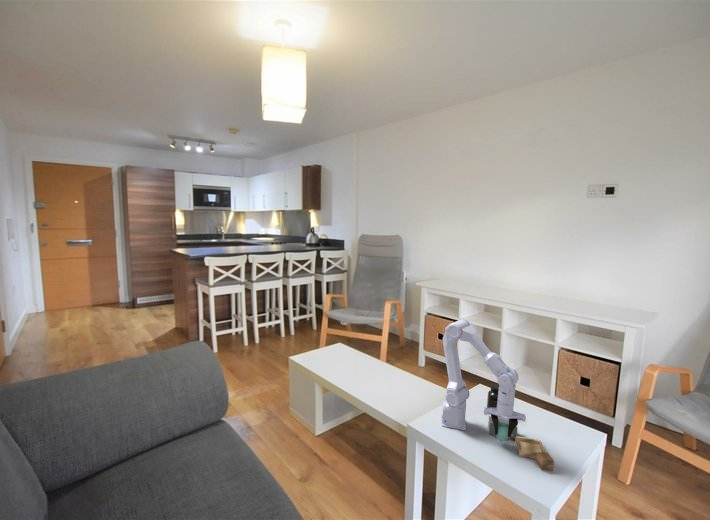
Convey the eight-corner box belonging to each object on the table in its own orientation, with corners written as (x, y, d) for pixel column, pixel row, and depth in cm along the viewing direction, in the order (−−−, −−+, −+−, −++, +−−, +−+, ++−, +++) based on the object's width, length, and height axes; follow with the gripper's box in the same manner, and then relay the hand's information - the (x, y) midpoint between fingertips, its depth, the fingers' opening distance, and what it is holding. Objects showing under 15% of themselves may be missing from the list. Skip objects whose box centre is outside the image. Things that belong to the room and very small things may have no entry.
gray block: (489, 434, 142) (490, 423, 142) (488, 427, 147) (489, 416, 146) (517, 439, 140) (518, 427, 139) (514, 431, 144) (515, 420, 144)
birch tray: (519, 455, 130) (519, 450, 130) (515, 440, 139) (515, 435, 139) (546, 460, 128) (546, 455, 128) (540, 445, 137) (540, 440, 136)
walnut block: (541, 470, 123) (542, 459, 123) (535, 462, 127) (536, 452, 127) (552, 470, 123) (553, 460, 123) (546, 462, 127) (547, 452, 127)
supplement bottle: (485, 406, 163) (487, 382, 161) (500, 408, 162) (502, 383, 160) (488, 415, 156) (490, 389, 155) (504, 416, 155) (507, 391, 154)
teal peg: (496, 440, 134) (498, 426, 134) (495, 434, 138) (497, 421, 137) (508, 442, 133) (509, 429, 133) (506, 436, 137) (508, 422, 136)
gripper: (486, 403, 132) (483, 436, 134) (528, 410, 128) (524, 444, 130) (484, 394, 138) (481, 426, 140) (525, 400, 135) (521, 433, 137)
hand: (502, 434), depth 136 cm, fingers closed on teal peg, 4 cm apart
